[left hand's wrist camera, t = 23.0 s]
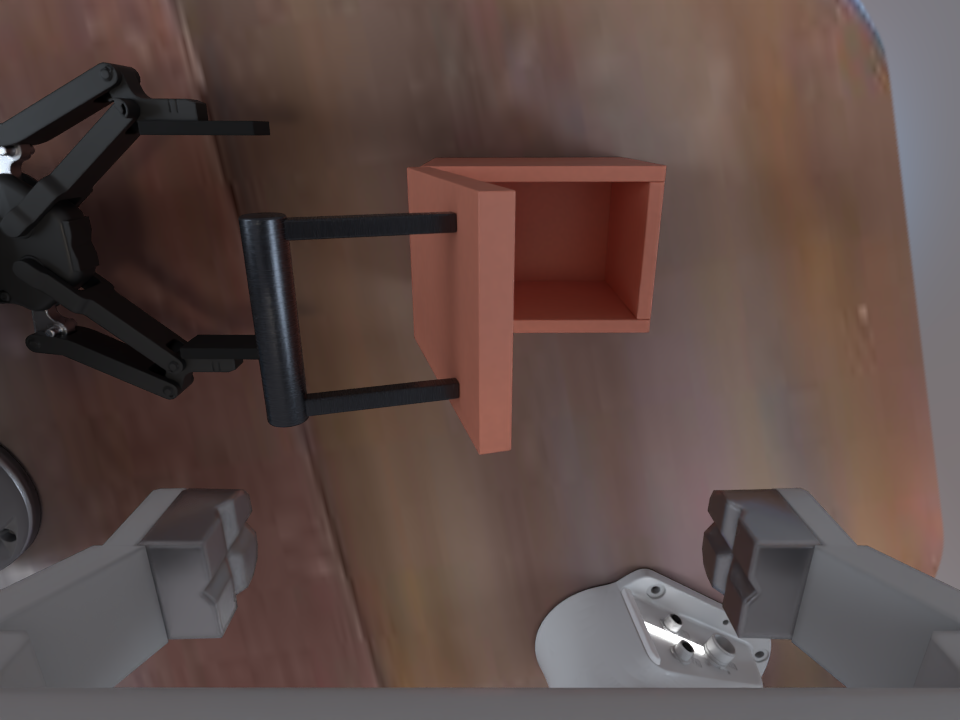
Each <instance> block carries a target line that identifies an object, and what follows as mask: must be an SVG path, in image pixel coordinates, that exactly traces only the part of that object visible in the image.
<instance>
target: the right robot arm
mask: <svg viewBox="0 0 960 720" xmlns="http://www.w3.org/2000/svg"><path fill="white" fill-rule="evenodd" d="M112 102H114V104H113V105H112V106H111V107H110V108H109V109H108V110H107V111H106V113H105V114H104V115H103V116H102V117H101V118H100V119H99V120H98V122H97V123H96V124H95V125H94V126H93V127H92V128H91V129H90V130H89V132H88V133H87V134H86V135H85V136H84V137H83V138H82V139H81V140H80V142H79V143H78V144H77V145H76V146H75V147H74V148H73V149H72V151H71V152H70V153H69V154H68V155H67V156H66V157H65V158H64V159H63V161H62V162H61V163H60V164H59V165H58V166H57V167H56V168H55V170H54V171H53V172H52V173H51V174H50V175H48V176H46V177H44V178H42V179H41V180H40V181H37V180H35V179H34V178H32V177H31V176H29V175H27V174H24V173H22V171H21V165H22V163H23V162H24V161H25V160H28V159H29V158H30V157H31V155H32V154H34V152H35V149H34V147H33V146H32V145H38V144H41V143H44V142H47V141H49V140H51V139H53V138H54V137H56V136H58V135H59V134H61V133H63V132H64V131H66V130H68V129H69V128H71V127H73V126H74V125H76V124H78V123H79V122H81V121H83V120H84V119H86V118H88V117H89V116H91V115H93V114H94V113H96V112H98V111H99V110H101V109H103V108H104V107H106V106H107V105H109V104H111V103H112ZM140 135H270V129H269V122H263V121H208V115H207V108H206V104H205V103H203V102H200V101H198V100H192V99H152V98H150V97H148V96H147V95H146V94H145V93H144V91H143V89H142V88H141V86H140V76H139V74H138V72H137V71H136V70H135V69H133V68H132V67H127V66H122V65H116V64H111V63H104V62H103V63H100V64H98V65H96V66H95V67H93V68H91V69H90V70H88V71H86V72H85V73H83V74H82V75H80V76H78V77H77V78H75V79H73V80H72V81H70V82H69V83H67V84H65V85H64V86H62V87H60V88H59V89H57V90H56V91H54V92H52V93H51V94H49V95H47V96H46V97H44V98H43V99H41V100H39V101H38V102H36V103H35V104H33V105H31V106H30V107H28V108H26V109H25V110H23V111H22V112H20V113H18V114H17V115H15V116H13V117H12V118H10V119H9V120H7V121H5V122H4V123H0V304H5V303H13V304H18V305H21V306H23V307H25V308H27V309H30V310H31V311H32V317H33V323H34V330H35V333H34V334H32V335H30V336H28V337H27V338H26V342H25V343H26V346H27V347H28V348H29V349H30V350H31V351H33V352H37V353H47V354H56V355H63V356H66V357H68V358H70V359H73V360H75V361H78V362H80V363H82V364H85V365H87V366H90V367H92V368H94V369H97V370H99V371H101V372H104V373H106V374H109V375H111V376H113V377H116V378H118V379H120V380H123V381H125V382H128V383H130V384H132V385H135V386H137V387H140V388H142V389H144V390H147V391H149V392H151V393H154V394H156V395H159V396H161V397H163V398H166V399H174V398H176V397H177V396H178V395H179V394H180V393H181V392H183V391H184V390H185V389H186V388H187V387H188V386H189V385H191V384H192V382H193V381H194V377H193V372H230V371H233V370H235V369H236V368H237V367H238V366H240V365H241V364H242V363H243V359H259V357H258V350H257V343H256V336H255V335H197V336H196V337H194V338H193V339H191V340H190V341H189V342H187V341H185V340H184V339H182V338H181V337H180V336H178V335H177V334H175V333H174V332H172V331H171V330H170V329H168V328H167V327H165V326H164V325H163V324H161V323H160V322H158V321H157V320H155V319H154V318H153V317H151V316H150V315H148V314H147V313H145V312H144V311H143V310H141V309H140V308H138V307H137V306H135V305H134V304H133V303H131V302H130V301H128V300H127V299H126V298H124V297H123V296H121V295H120V294H118V293H117V292H116V291H115V290H114V286H113V285H112V284H111V283H110V282H108V281H107V280H105V279H104V278H103V277H101V276H100V275H98V274H97V273H95V268H96V266H98V265H99V260H98V256H97V252H96V250H95V248H94V246H93V244H92V242H91V225H90V220H89V217H84V215H83V213H82V212H81V210H80V209H79V208H78V206H79V205H80V204H81V203H82V202H83V201H84V200H85V199H86V198H87V196H88V195H89V194H90V193H91V192H92V190H93V189H92V187H93V186H94V184H95V183H96V182H97V181H98V180H99V179H100V178H101V177H102V176H103V175H104V174H105V173H106V172H107V170H108V169H109V168H110V167H111V166H112V165H113V164H114V163H115V162H116V161H117V160H118V159H119V157H120V156H121V155H122V154H123V153H124V152H125V151H126V150H127V149H128V148H129V147H130V146H131V145H132V143H133V142H134V141H135V140H136V139H137V138H138V137H139V136H140ZM80 287H82V288H84V289H85V290H78V289H79V288H80ZM60 304H61V305H62V306H64V307H65V308H67V309H68V310H70V311H72V312H74V313H78V314H83V315H85V316H87V317H88V318H90V319H91V320H93V321H94V322H96V323H97V324H99V325H100V326H102V327H103V328H104V329H106V330H107V331H109V332H110V333H112V334H113V335H115V336H116V337H118V338H119V339H121V340H122V341H123V342H125V343H126V344H125V343H123V342H121V341H118V340H116V339H114V338H112V337H109V336H107V335H105V334H102V333H100V332H98V331H95V330H92V329H89V328H86V327H81V326H77V322H76V320H74V319H69V318H66V317H63V316H62V315H60V314H59V313H58V311H57V309H56V306H58V305H60ZM40 518H41V511H40V504H39V499H38V496H37V492H36V490H35V488H34V485H33V483H32V482H31V480H30V478H29V476H28V475H27V473H26V472H25V470H24V469H23V468H22V467H21V465H20V464H19V463H18V462H17V461H16V460H15V459H14V457H13V456H11V455H10V454H9V453H8V452H7V451H6V450H5V449H4V448H2V447H1V446H0V571H1V570H2V569H4V568H5V567H7V566H8V565H10V564H11V563H12V562H13V561H15V560H16V559H17V558H18V557H19V556H20V555H21V554H22V553H23V552H24V551H25V550H26V549H27V548H28V547H29V546H30V545H31V544H32V542H33V541H34V539H35V537H36V535H37V533H38V530H39V526H40Z"/></svg>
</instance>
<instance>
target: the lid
mask: <svg viewBox="0 0 960 720" xmlns="http://www.w3.org/2000/svg"><path fill="white" fill-rule="evenodd" d="M407 181H408V204H409V213H397V214H370V215H344V216H317V217H291V218H287V217H286V215H285V214H282V213H251V214H245V215H241V216H239V225H240V232H241V239H242V246H243V253H244V260H245V267H246V274H247V281H248V288H249V295H250V302H251V308H252V315H253V322H254V329H255V336H256V343H257V350H258V357H259V364H260V371H261V378H262V385H263V392H264V398H265V405H266V412H267V419H268V422H269V424H271V425H272V426H275V427H292V426H296V425H299V424H301V423H303V422H305V421H306V420H307V419H308V418H309V416H314V415H322V414H331V413H339V412H347V411H356V410H364V409H373V408H381V407H389V406H398V405H406V404H415V403H423V402H432V401H440V400H448V399H449V401H450V402H451V404H452V406H453V408H454V410H455V411H456V413H457V415H458V417H459V419H460V420H461V422H462V424H463V426H464V428H465V429H466V431H467V433H468V435H469V437H470V438H471V440H472V442H473V444H474V446H475V447H476V449H477V451H478V453H479V454H488V453H495V452H502V451H509V450H511V423H512V368H513V313H514V258H515V203H516V191H515V190H512V189H508V188H505V187H501V186H498V185H494V184H490V183H487V182H483V181H479V180H476V179H472V178H468V177H465V176H461V175H457V174H454V173H450V172H447V171H443V170H439V169H436V168H432V167H407ZM395 235H410V249H411V272H412V294H413V317H414V338H415V339H416V341H417V343H418V345H419V347H420V348H421V350H422V352H423V354H424V356H425V357H426V359H427V361H428V363H429V365H430V366H431V368H432V370H433V372H434V374H435V375H436V377H437V379H438V380H429V381H420V382H411V383H402V384H393V385H383V386H374V387H365V388H356V389H347V390H338V391H329V392H320V393H310V394H307V390H306V381H305V372H304V364H303V355H302V347H301V338H300V329H299V321H298V312H297V304H296V295H295V286H294V278H293V269H292V261H291V252H290V243H289V240H309V239H331V238H352V237H373V236H395Z"/></svg>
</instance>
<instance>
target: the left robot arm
mask: <svg viewBox="0 0 960 720" xmlns="http://www.w3.org/2000/svg"><path fill="white" fill-rule="evenodd" d="M251 512H252V507H251V502H250V497H249V494H248V493H247V492H246V491H245V490H243V489H194V488H189V489H186V488H160V489H156V490H153V491H152V492H151V493H150V494H149V495H148V496H147V498H146V499H145V500H144V501H143V502H142V503H141V504H140V505H139V506H138V507H137V508H136V510H135V511H134V512H133V513H132V514H131V515H130V516H129V517H128V518H127V519H126V520H125V522H124V523H123V524H122V525H121V526H120V527H119V528H118V529H117V530H116V531H115V532H114V534H113V535H112V536H111V537H110V538H109V539H108V540H107V541H106V542H105V543H104V544H103V546H91V547H89V548H87V549H85V550H83V551H81V552H79V553H77V554H75V555H72V556H70V557H68V558H66V559H64V560H62V561H60V562H58V563H56V564H54V565H52V566H50V567H47V568H45V569H43V570H41V571H39V572H37V573H35V574H33V575H31V576H29V577H27V578H25V579H23V580H20V581H18V582H16V583H14V584H12V585H10V586H8V587H6V588H4V589H2V590H0V720H960V590H958V589H956V588H954V587H952V586H950V585H948V584H946V583H944V582H941V581H939V580H937V579H935V578H933V577H931V576H929V575H927V574H925V573H923V572H921V571H919V570H917V569H914V568H912V567H910V566H908V565H906V564H904V563H902V562H900V561H898V560H896V559H894V558H892V557H890V556H887V555H885V554H883V553H881V552H879V551H877V550H875V549H873V548H871V547H869V546H857V544H856V543H855V542H854V541H853V540H852V539H851V538H850V537H849V536H848V535H847V534H846V532H845V531H844V530H843V529H842V528H841V527H840V526H839V525H838V524H837V523H836V522H835V520H834V519H833V518H832V517H831V516H830V515H829V514H828V513H827V512H826V511H825V510H824V508H823V507H822V506H821V505H820V504H819V503H818V502H817V501H816V500H815V499H814V498H813V496H812V495H811V494H810V493H809V492H808V491H806V490H804V489H802V488H781V489H757V490H714V491H713V493H712V495H711V497H710V500H709V506H708V512H709V514H710V516H711V517H712V519H713V521H714V523H713V524H712V525H711V526H710V527H709V528H708V529H707V530H706V531H705V532H704V538H703V546H702V552H703V564H704V568H705V571H706V574H707V577H708V579H709V581H710V583H711V585H712V587H713V588H714V589H716V590H717V591H719V592H720V593H722V594H723V595H724V600H723V604H721V603H719V602H717V601H715V600H713V599H710V598H708V597H706V596H704V595H702V594H700V593H698V592H696V591H694V590H692V589H690V588H688V587H686V586H684V585H682V584H679V583H677V582H675V581H673V580H671V579H669V578H667V577H665V576H663V575H661V574H659V573H657V572H655V571H653V570H650V569H639V570H636V571H634V572H632V573H630V574H628V575H626V576H625V577H623V578H621V579H620V580H618V581H617V582H614V583H611V584H608V585H604V586H599V587H594V588H591V589H587V590H584V591H581V592H579V593H577V594H574V595H572V596H570V597H569V598H567V599H565V600H564V601H562V602H561V603H560V604H558V605H557V606H556V607H555V608H554V609H553V610H552V611H551V612H550V613H549V614H548V615H547V616H546V618H545V619H544V620H543V622H542V624H541V626H540V628H539V630H538V633H537V636H536V641H535V653H536V658H537V661H538V664H539V666H540V668H541V670H542V672H543V674H544V676H545V678H546V680H547V683H548V686H549V688H113V687H114V686H115V685H117V684H118V683H119V682H120V681H122V680H123V679H124V678H125V677H126V676H128V675H129V674H130V673H131V672H132V671H134V670H135V669H136V668H137V667H139V666H140V665H141V664H142V663H143V662H145V661H146V660H147V659H148V658H150V657H151V656H152V655H153V654H154V653H156V652H157V651H158V650H159V649H161V648H162V647H163V646H164V645H165V644H167V643H168V639H198V638H222V636H223V634H224V632H225V630H226V628H227V627H228V625H229V623H230V621H231V619H232V617H233V615H234V613H235V611H236V609H237V607H238V606H237V600H236V595H237V594H238V593H240V592H241V591H243V590H244V589H246V588H247V587H248V585H249V583H250V581H251V579H252V577H253V575H254V571H255V566H256V562H257V551H258V544H257V537H256V532H255V531H254V530H253V529H252V528H251V527H250V526H249V525H248V524H247V523H246V521H247V519H248V517H249V516H250V514H251ZM654 586H657V587H655V588H652V587H654ZM771 639H792V643H794V644H795V645H796V646H797V647H798V648H800V649H801V650H802V651H803V652H805V653H806V654H807V655H808V656H809V657H811V658H812V659H813V660H814V661H816V662H817V663H818V664H819V665H820V666H822V667H823V668H824V669H825V670H827V671H828V672H829V673H830V674H831V675H833V676H834V677H835V678H836V679H837V680H839V681H840V682H841V683H842V684H844V685H845V686H846V687H847V688H763V683H762V679H761V677H762V675H763V673H764V671H765V668H766V666H767V663H768V660H769V657H770V652H771Z"/></svg>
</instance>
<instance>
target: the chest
mask: <svg viewBox="0 0 960 720" xmlns="http://www.w3.org/2000/svg"><path fill="white" fill-rule="evenodd" d="M420 167H432V168H436V169H439V170H443V171H447V172H450V173H454V174H457V175H461V176H465V177H468V178H472V179H476V180H479V181H483V182H487V183H490V184H494V185H498V186H501V187H505V188H508V189H512V190H515V191H516V203H515V258H514V313H513V333H648V332H649V328H650V318H651V309H652V300H653V290H654V280H655V271H656V261H657V251H658V242H659V232H660V223H661V213H662V203H663V194H664V184H665V183H664V181H665V176H666V166H665V165H660V164H655V163H649V162H644V161H639V160H634V159H628V158H622V157H565V158H434V159H432V160H430V161H429V162H427V163H425V164H424V165H422V166H420Z"/></svg>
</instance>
